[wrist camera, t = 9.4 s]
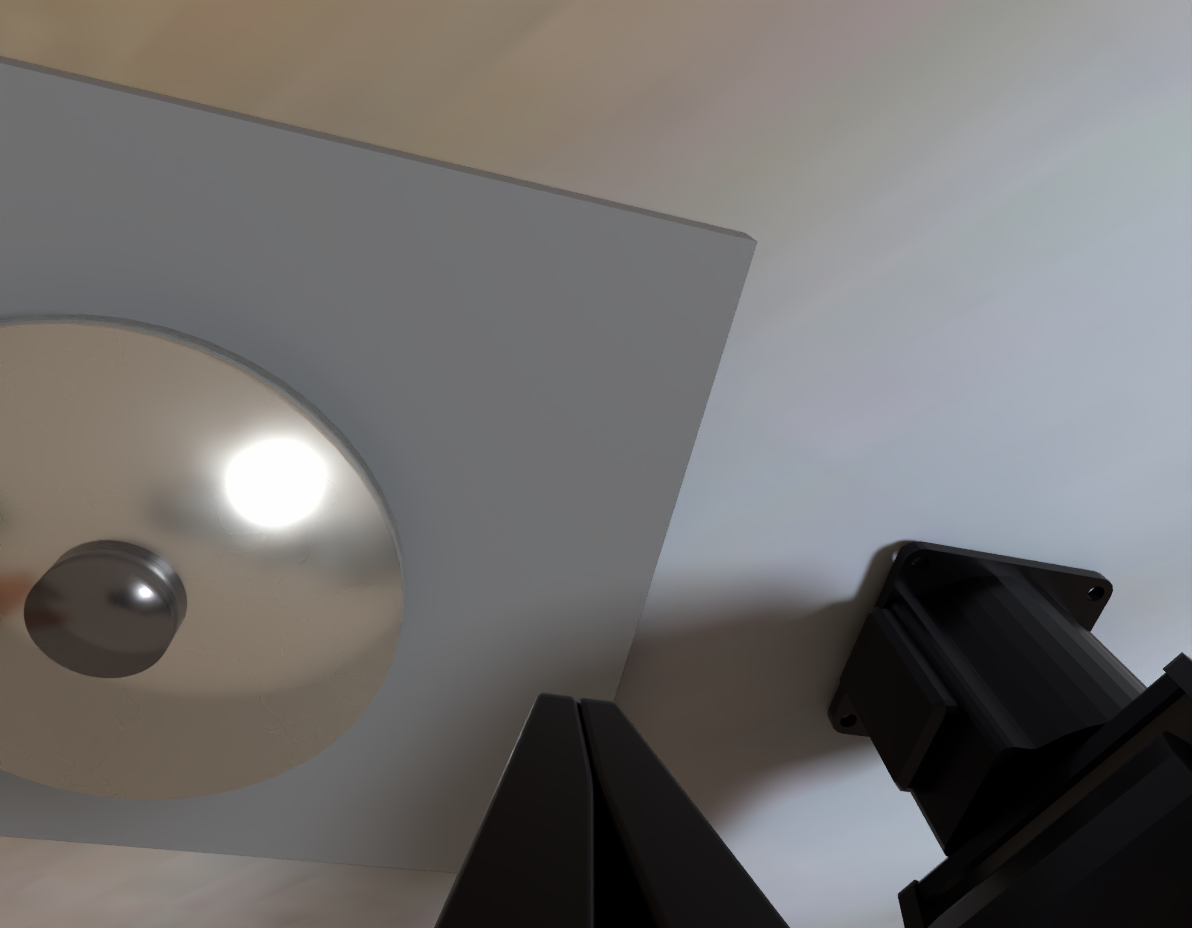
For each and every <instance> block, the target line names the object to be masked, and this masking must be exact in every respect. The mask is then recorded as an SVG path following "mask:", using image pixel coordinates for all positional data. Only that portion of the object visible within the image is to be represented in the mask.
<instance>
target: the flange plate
mask: <svg viewBox="0 0 1192 928" xmlns="http://www.w3.org/2000/svg"><path fill="white" fill-rule="evenodd" d="M405 591H406V572H405V563H404V553H403V547H402V543H401V540H400V536H399V532H398V528H397V524H396V521H395V518H394V516H393V513H392V511H391V509H390V506H389V504H388V502H387V499H386V497H385V495H384V492H383V490H382V488H381V487H380V485H379V483H378V482H377V480H376V478H375V477H374V475H373V473H372V472H371V470H370V468H369V467H368V465H367V463H366V462H365V460H364V459H363V458H362V456H361V455H360V454H359V453H358V451H357V450H356V449H355V448H354V446H353V445H352V444H351V442H350V441H349V440H348V439H347V437H346V436H345V435H344V434H343V432H342V431H341V430H340V429H339V428H338V427H337V426H335V425H334V424H333V423H332V422H331V421H330V420H329V419H328V418H327V417H326V416H325V415H324V414H323V413H322V412H321V411H320V410H319V409H318V408H317V407H316V406H315V405H314V404H313V403H311V402H310V401H309V400H307V399H306V398H305V397H304V396H302V395H301V394H300V393H298V392H297V391H296V390H295V389H293V388H292V387H291V386H289V385H288V384H287V383H286V382H284V381H283V380H281V379H279V378H278V377H276V376H274V375H273V374H271V373H270V372H268V371H266V370H265V369H263V368H261V367H260V366H258V365H256V364H255V363H253V362H252V361H250V360H248V359H246V358H244V357H242V356H240V355H237V354H235V353H233V352H231V351H229V350H227V349H225V348H222V347H220V346H218V345H216V344H214V343H212V342H209V341H206V340H204V339H201V338H198V337H195V336H192V335H189V334H186V333H183V332H180V331H177V330H174V329H171V328H168V327H163V326H158V325H154V324H149V323H145V322H140V321H136V320H131V319H127V318H117V317H107V316H97V315H88V314H59V315H36V316H29V317H22V318H15V319H8V320H1V321H0V769H1V770H3V771H6V772H9V773H11V774H14V775H16V776H19V777H21V778H25V779H28V780H31V781H35V782H38V783H41V784H45V785H48V786H52V787H55V788H59V789H64V790H69V791H74V792H79V793H84V794H89V795H96V796H105V797H113V798H122V799H149V800H164V799H179V798H193V797H200V796H206V795H212V794H218V793H224V792H228V791H232V790H236V789H239V788H243V787H247V786H250V785H254V784H257V783H260V782H262V781H265V780H267V779H270V778H272V777H275V776H278V775H280V774H283V773H285V772H287V771H289V770H291V769H292V768H294V767H296V766H298V765H300V764H302V763H304V762H306V761H308V760H310V759H311V758H312V757H314V756H315V755H317V754H318V753H320V752H321V751H322V750H324V749H325V748H327V747H328V746H330V745H331V744H332V743H334V742H335V741H336V740H337V739H338V738H339V737H340V736H341V735H342V734H343V733H345V732H346V731H347V730H348V729H349V728H350V727H351V726H352V725H353V724H354V723H355V722H356V721H357V719H358V718H359V717H360V716H361V715H362V713H363V712H364V711H365V710H366V708H367V707H368V706H369V705H370V704H371V702H372V700H373V699H374V697H375V695H376V694H377V692H378V690H379V689H380V687H381V685H382V684H383V682H384V680H385V678H386V675H387V673H388V670H389V668H390V665H391V663H392V660H393V658H394V655H395V651H396V647H397V642H398V638H399V633H400V628H401V623H402V618H403V613H404V607H405Z"/></svg>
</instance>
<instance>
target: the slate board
mask: <svg viewBox="0 0 1192 928" xmlns="http://www.w3.org/2000/svg"><path fill="white" fill-rule="evenodd" d="M756 244H757V241H756V240H754V239H753V238H752V237H750V236H749V235H747V234H746V233H743V232H738V231H734V230H730V229H726V228H722V227H717V226H713V225H709V224H705V223H701V222H696V221H692V220H688V219H684V218H680V217H675V216H671V215H667V214H663V213H658V212H654V211H650V210H646V209H642V208H637V207H633V206H629V205H625V204H621V203H616V202H612V201H608V200H604V199H599V198H595V197H591V196H587V195H583V194H578V193H574V192H570V191H566V190H562V189H557V188H553V187H549V186H545V185H541V184H536V183H532V182H528V181H524V180H519V179H515V178H511V177H507V176H503V175H498V174H494V173H490V172H486V171H482V170H477V169H473V168H469V167H465V166H461V165H456V164H452V163H448V162H444V161H439V160H435V159H431V158H427V157H423V156H418V155H414V154H410V153H406V152H402V151H397V150H393V149H389V148H385V147H380V146H376V145H372V144H368V143H364V142H359V141H355V140H351V139H347V138H343V137H338V136H334V135H330V134H326V133H322V132H317V131H313V130H309V129H305V128H300V127H296V126H292V125H288V124H284V123H279V122H275V121H271V120H267V119H263V118H258V117H254V116H250V115H246V114H242V113H237V112H233V111H229V110H225V109H220V108H216V107H212V106H208V105H204V104H199V103H195V102H191V101H187V100H183V99H178V98H174V97H170V96H166V95H161V94H157V93H153V92H149V91H145V90H140V89H136V88H132V87H128V86H124V85H119V84H115V83H111V82H107V81H103V80H98V79H94V78H90V77H86V76H81V75H77V74H73V73H69V72H65V71H60V70H56V69H52V68H48V67H44V66H39V65H35V64H31V63H27V62H23V61H18V60H14V59H10V58H6V57H1V56H0V321H1V320H8V319H15V318H22V317H29V316H36V315H59V314H88V315H97V316H107V317H117V318H127V319H131V320H136V321H140V322H145V323H149V324H154V325H158V326H163V327H168V328H171V329H174V330H177V331H180V332H183V333H186V334H189V335H192V336H195V337H198V338H201V339H204V340H206V341H209V342H212V343H214V344H216V345H218V346H220V347H222V348H225V349H227V350H229V351H231V352H233V353H235V354H237V355H240V356H242V357H244V358H246V359H248V360H250V361H252V362H253V363H255V364H256V365H258V366H260V367H261V368H263V369H265V370H266V371H268V372H270V373H271V374H273V375H274V376H276V377H278V378H279V379H281V380H283V381H284V382H286V383H287V384H288V385H289V386H291V387H292V388H293V389H295V390H296V391H297V392H298V393H300V394H301V395H302V396H304V397H305V398H306V399H307V400H309V401H310V402H311V403H313V404H314V405H315V406H316V407H317V408H318V409H319V410H320V411H321V412H322V413H323V414H324V415H325V416H326V417H327V418H328V419H329V420H330V421H331V422H332V423H333V424H334V425H335V426H337V427H338V428H339V429H340V430H341V431H342V432H343V434H344V435H345V436H346V437H347V439H348V440H349V441H350V442H351V444H352V445H353V446H354V448H355V449H356V450H357V451H358V453H359V454H360V455H361V456H362V458H363V459H364V460H365V462H366V463H367V465H368V467H369V468H370V470H371V472H372V473H373V475H374V477H375V478H376V480H377V482H378V483H379V485H380V487H381V488H382V490H383V492H384V495H385V497H386V499H387V502H388V504H389V506H390V509H391V511H392V513H393V516H394V518H395V521H396V524H397V528H398V532H399V536H400V540H401V543H402V547H403V553H404V563H405V572H406V591H405V607H404V613H403V618H402V623H401V628H400V633H399V638H398V642H397V647H396V651H395V655H394V658H393V660H392V663H391V665H390V668H389V670H388V673H387V675H386V678H385V680H384V682H383V684H382V685H381V687H380V689H379V690H378V692H377V694H376V695H375V697H374V699H373V700H372V702H371V704H370V705H369V706H368V707H367V708H366V710H365V711H364V712H363V713H362V715H361V716H360V717H359V718H358V719H357V721H356V722H355V723H354V724H353V725H352V726H351V727H350V728H349V729H348V730H347V731H346V732H345V733H343V734H342V735H341V736H340V737H339V738H338V739H337V740H336V741H335V742H334V743H332V744H331V745H330V746H328V747H327V748H325V749H324V750H322V751H321V752H320V753H318V754H317V755H315V756H314V757H312V758H311V759H310V760H308V761H306V762H304V763H302V764H300V765H298V766H296V767H294V768H292V769H291V770H289V771H287V772H285V773H283V774H280V775H278V776H275V777H272V778H270V779H267V780H265V781H262V782H260V783H257V784H254V785H250V786H247V787H243V788H239V789H236V790H232V791H228V792H224V793H218V794H212V795H206V796H200V797H193V798H179V799H164V800H149V799H122V798H113V797H105V796H96V795H89V794H84V793H79V792H74V791H69V790H64V789H59V788H55V787H52V786H48V785H45V784H41V783H38V782H35V781H31V780H28V779H25V778H21V777H19V776H16V775H14V774H11V773H9V772H6V771H3V770H1V769H0V836H6V837H18V838H30V839H42V840H55V841H67V842H79V843H92V844H104V845H116V846H129V847H141V848H153V849H166V850H178V851H190V852H203V853H215V854H227V855H239V856H252V857H264V858H276V859H289V860H301V861H313V862H326V863H338V864H350V865H363V866H375V867H387V868H399V869H412V870H424V871H436V872H449V873H459V870H460V868H461V866H462V864H463V861H464V859H465V857H466V855H467V852H468V850H469V848H470V846H471V843H472V841H473V839H474V837H475V834H476V832H477V830H478V827H479V825H480V823H481V821H482V818H483V816H484V814H485V812H486V809H487V807H488V805H489V803H490V800H491V798H492V796H493V793H494V791H495V789H496V787H497V784H498V782H499V780H500V778H501V775H502V773H503V771H504V769H505V766H506V764H507V762H508V760H509V757H510V755H511V753H512V750H513V748H514V746H515V744H516V741H517V739H518V737H519V735H520V732H521V730H522V728H523V726H524V723H525V721H526V719H527V716H528V714H529V712H530V710H531V707H532V705H533V703H534V701H535V699H536V697H537V695H538V694H539V693H542V692H545V693H553V694H561V695H569V696H572V697H573V698H574V699H576V701H577V700H578V699H580V698H581V697H586V698H594V699H602V700H609V701H613V702H614V699H615V696H616V693H617V689H618V686H619V683H620V680H621V677H622V673H623V670H624V667H625V664H626V661H627V657H628V654H629V651H630V648H631V645H632V641H633V638H634V635H635V632H636V629H637V625H638V622H639V619H640V616H641V613H642V609H643V606H644V603H645V600H646V597H647V593H648V590H649V587H650V584H651V581H652V577H653V574H654V571H655V568H656V565H657V561H658V558H659V555H660V552H661V549H662V545H663V542H664V539H665V536H666V532H667V529H668V526H669V523H670V520H671V516H672V513H673V510H674V507H675V504H676V500H677V497H678V494H679V491H680V488H681V484H682V481H683V478H684V475H685V472H686V468H687V465H688V462H689V459H690V456H691V452H692V449H693V446H694V443H695V440H696V436H697V433H698V430H699V427H700V424H701V420H702V417H703V414H704V411H705V408H706V404H707V401H708V398H709V395H710V392H711V388H712V385H713V382H714V379H715V376H716V372H717V369H718V366H719V363H720V360H721V356H722V353H723V350H724V347H725V344H726V340H727V337H728V334H729V331H730V328H731V324H732V321H733V318H734V315H735V312H736V308H737V305H738V302H739V299H740V295H741V292H742V289H743V286H744V283H745V279H746V276H747V273H748V270H749V267H750V263H751V260H752V257H753V254H754V251H755V247H756Z"/></svg>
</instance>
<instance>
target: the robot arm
mask: <svg viewBox="0 0 1192 928" xmlns="http://www.w3.org/2000/svg"><path fill="white" fill-rule="evenodd" d="M919 557H923V559H922V560H921V561H920V562H919V563H917V564H916V565H912V563H913V562H914V560H915V559H917V558H919ZM1092 588H1094V589H1093V590H1092V591H1090V589H1092ZM1089 591H1090V592H1089ZM1112 592H1113V587H1112V584H1111V583H1110V582H1109V581H1108V580H1107V579H1106V578H1105V577H1104V576H1102V575H1101V574H1100V573H1098V572H1095V571H1090V570H1084V569H1078V568H1072V567H1066V566H1061V565H1055V564H1049V563H1043V562H1037V561H1032V560H1026V559H1020V558H1014V557H1008V556H1003V555H997V554H991V553H985V552H979V551H973V550H968V549H962V548H956V547H950V546H944V545H939V544H933V543H927V542H912V543H909V544H907V545H906V546H904V547H903V548H902V549H901V550H900V552H899V553H898V555H897V557H896V559H895V562H894V564H893V566H892V568H891V570H890V573H889V575H888V577H887V579H886V582H885V584H884V586H883V588H882V591H881V593H880V595H879V597H878V600H877V602H876V604H875V606H874V608H873V610H872V611H871V612H870V613H869V614H868V617H867V619H866V621H865V623H864V626H863V628H862V630H861V632H860V635H859V637H858V639H857V641H856V644H855V646H854V648H853V650H852V652H851V655H850V657H849V659H848V661H847V664H846V666H845V668H844V670H843V673H842V675H841V677H840V684H839V687H838V689H837V691H836V693H835V696H834V698H833V700H832V702H831V705H830V707H829V709H828V714H827V715H828V718H829V720H830V722H831V724H832V726H833V728H834V729H835V730H836V731H837V732H840V733H843V734H851V735H859V736H868V737H870V738H871V740H872V742H873V744H874V746H875V748H876V749H877V751H878V753H879V755H880V757H881V759H882V761H883V762H884V764H885V766H886V768H887V770H888V772H889V774H890V775H891V777H892V779H893V781H894V783H895V784H896V786H897V787H898V788H899V790H900V791H905V792H911V794H912V796H913V798H914V799H915V801H916V803H917V805H918V807H919V808H920V810H921V812H922V814H923V816H924V817H925V819H926V821H927V823H928V825H929V827H930V828H931V830H932V832H933V834H934V836H935V837H936V839H937V841H938V843H939V845H940V846H941V848H942V850H943V852H944V854H945V855H946V856H948V857H947V858H946V859H945V860H944V861H943V862H941V863H940V864H939V865H938V866H937V867H936V868H934V869H933V870H932V871H931V872H930V873H928V874H927V875H926V876H925V877H924V878H923V879H921V880H920V881H917V880H914V881H912V882H911V883H910V884H909V885H908V886H906V887H905V888H904V889H903V890H902V891H901V892H899V893H898V899H899V904H900V908H901V913H902V917H903V922H904V927H905V928H1192V659H1191V658H1189V657H1188V656H1187V655H1185V654H1184V653H1183V652H1182V653H1181V654H1179V655H1178V656H1177V657H1176V658H1175V659H1174V660H1172V661H1171V662H1170V663H1169V664H1168V665H1167V666H1165V667H1164V668H1163V670H1164V671H1165V672H1166V673H1165V674H1163V675H1162V676H1161V677H1160V678H1159V679H1158V680H1156V681H1155V682H1154V683H1153V684H1152V685H1150V686H1149V687H1148V688H1147V687H1146V686H1145V685H1144V684H1143V683H1142V682H1141V681H1140V680H1139V679H1138V678H1137V677H1136V676H1135V675H1134V674H1133V673H1132V672H1131V671H1130V670H1129V669H1128V668H1127V667H1126V666H1124V665H1123V664H1122V663H1121V662H1120V661H1119V660H1118V659H1117V658H1116V657H1115V656H1114V655H1113V654H1112V653H1111V652H1110V651H1109V650H1108V649H1107V648H1106V647H1105V646H1104V645H1103V644H1102V643H1101V642H1100V641H1099V640H1098V639H1097V638H1096V637H1095V636H1094V635H1093V634H1092V633H1091V632H1090V631H1091V630H1092V628H1093V626H1094V624H1095V623H1096V621H1097V619H1098V618H1099V616H1100V614H1101V612H1102V611H1103V609H1104V607H1105V606H1106V604H1107V602H1108V600H1109V599H1110V597H1111V595H1112ZM847 714H850V715H849V716H847V717H845V718H842V717H843V716H845V715H847ZM434 928H790V927H789V926H788V925H787V923H786V922H785V921H784V919H783V918H782V917H781V916H780V914H779V913H778V912H777V910H776V909H775V908H774V907H773V905H772V904H771V903H770V901H769V900H768V899H767V897H766V896H765V895H764V894H763V892H762V891H761V890H760V888H759V887H758V886H757V885H756V883H755V882H754V881H753V879H752V878H751V877H750V875H749V874H748V873H747V872H746V870H745V869H744V868H743V866H742V865H741V864H740V863H739V861H738V860H737V859H736V857H735V856H734V855H733V853H732V852H731V851H730V850H729V848H728V847H727V846H726V844H725V843H724V842H723V841H722V839H721V838H720V837H719V835H718V834H717V833H716V831H715V830H714V829H713V828H712V826H711V825H710V824H709V822H708V821H707V820H706V819H705V817H704V816H703V815H702V813H701V812H700V811H699V809H698V808H697V807H696V806H695V804H694V803H693V802H692V800H691V799H690V798H689V797H688V795H687V794H686V793H685V791H684V790H683V789H682V787H681V786H680V785H679V784H678V782H677V781H676V780H675V778H674V777H673V776H672V775H671V773H670V772H669V771H668V769H667V768H666V767H665V765H664V764H663V763H662V762H661V760H660V759H659V758H658V756H657V755H656V754H655V753H654V751H653V750H652V749H651V747H650V746H649V745H648V743H647V742H646V741H645V740H644V738H643V737H642V736H641V734H640V733H639V732H638V731H637V729H636V728H635V727H634V725H633V724H632V723H631V721H630V720H629V719H628V718H627V716H626V715H625V714H624V712H623V711H622V710H621V709H620V707H619V706H618V705H617V704H616V703H614V702H613V701H609V700H602V699H594V698H586V697H581V698H580V699H578V700H577V701H576V699H574V698H573V697H572V696H569V695H561V694H553V693H545V692H542V693H539V694H538V695H537V697H536V699H535V701H534V703H533V705H532V707H531V710H530V712H529V714H528V716H527V719H526V721H525V723H524V726H523V728H522V730H521V732H520V735H519V737H518V739H517V741H516V744H515V746H514V748H513V750H512V753H511V755H510V757H509V760H508V762H507V764H506V766H505V769H504V771H503V773H502V775H501V778H500V780H499V782H498V784H497V787H496V789H495V791H494V793H493V796H492V798H491V800H490V803H489V805H488V807H487V809H486V812H485V814H484V816H483V818H482V821H481V823H480V825H479V827H478V830H477V832H476V834H475V837H474V839H473V841H472V843H471V846H470V848H469V850H468V852H467V855H466V857H465V859H464V861H463V864H462V866H461V868H460V870H459V873H458V875H457V877H456V880H455V882H454V884H453V886H452V889H451V891H450V893H449V895H448V898H447V900H446V902H445V904H444V907H443V909H442V911H441V914H440V916H439V918H438V920H437V923H436V925H435V927H434Z"/></svg>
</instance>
